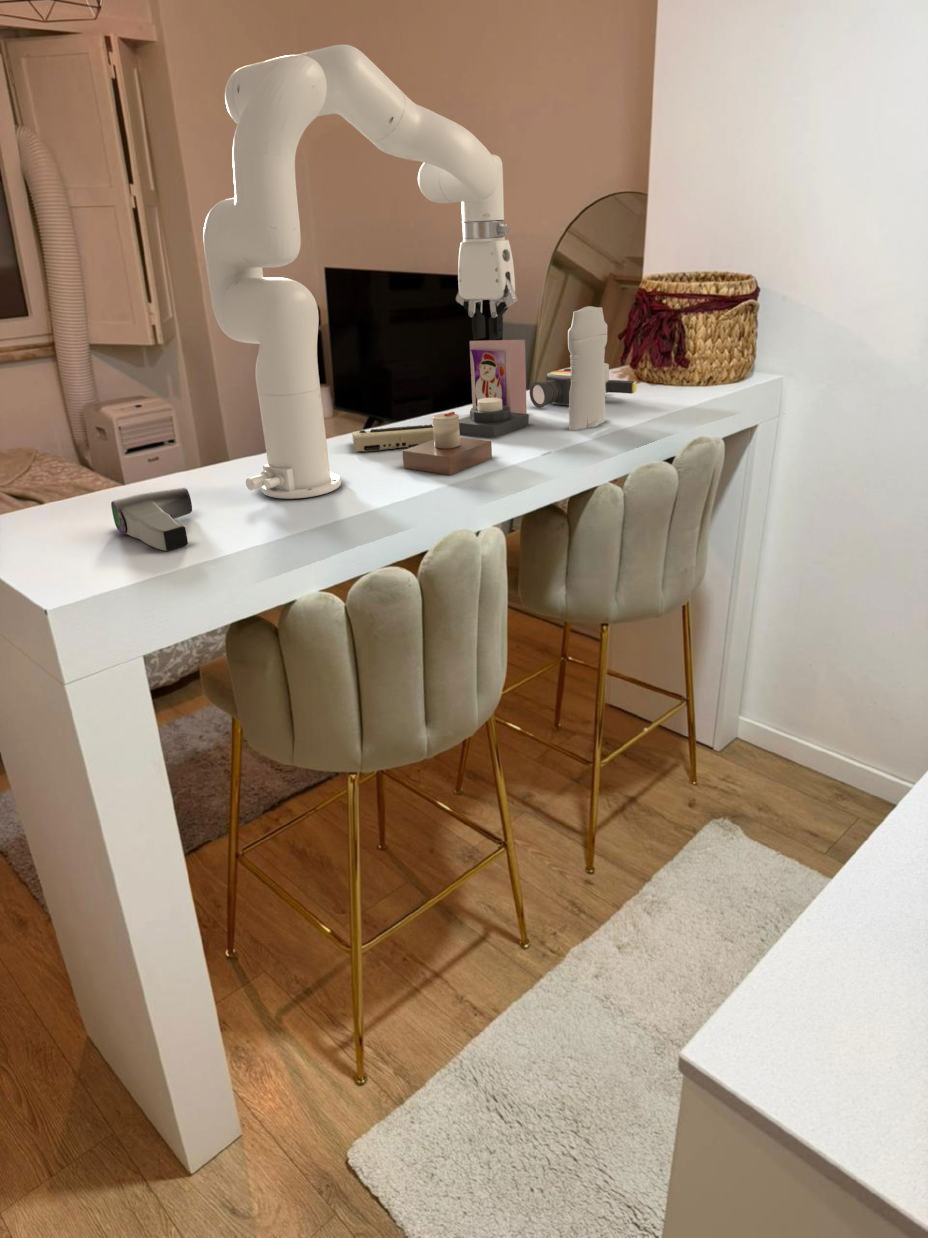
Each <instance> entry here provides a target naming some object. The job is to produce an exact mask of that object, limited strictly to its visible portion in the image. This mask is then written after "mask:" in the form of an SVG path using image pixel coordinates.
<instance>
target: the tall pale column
mask: <svg viewBox="0 0 928 1238" xmlns="http://www.w3.org/2000/svg"><path fill="white" fill-rule="evenodd" d="M603 310H604V309H603V307H597V306H593V305H590V306H589V305H588V306H584V307H582V308H580V309H577V310H575V311H573V312H572V313H573V314H572V320H571V326H570V328H568V330H567V348H568V351H569V354H570V355H569V359H570V360H569V362H570V366H569V368H570V367H571V380H570V381H571V386H570V391H569V405H568V429H569V431H577V430H582V429H583V430H584V429H586V428H595V427H597V426H598V425H600V424H603V423H605V422H606V394H605V381H604V363H605V361H606V360H605V356H606V354H605V353H606V346H607V343H608V324H607V323H606V321H605V318H604V312H603Z"/></svg>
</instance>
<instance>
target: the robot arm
mask: <svg viewBox="0 0 928 1238" xmlns="http://www.w3.org/2000/svg"><path fill="white" fill-rule="evenodd" d="M224 102H225V105H226V109H227V112H228V114H229V116H230V117H231V119H232V121H234V123H235V124H236V128H235V131H234V135H233V142H232V152H231V153H232V154H231V156H232V157H231V158H232V171H233V185H234V197H230V198H225V199H222V200H220V201H218V202H217V203H216V204H215V205H213V206H212V208H211V209H210V210H209V212H208V213H207V216H206V217H205V222H204V225H203V226H204V227H203V234H202V235H203V236H202V239H203V251H204V258H205V259H204V260H205V265H206V273H207V280H208V287H209V294H210V301H211V308H212V311H213V316H214V318H215V321H216V323H217V325H218V327H219V329H220V330H221V331H222V333H224V334H225V335H226V336H227V337H228V338H230V339H231V340H233V341H236V342H240V343H245V344H255V345H259V346H258V353H257V357H256V361H255V373H254V375H255V385H256V392H257V397H258V402H259V403H258V404H259V410H260V418H261V425H262V431H263V439H264V447H265V452H266V460H267V464H264V465H262V468H263V471H261V472H260V473H259V475H258V474H257V475H254V476H250V477H247V478H246V479H245V486H246V488H247V489H248V490H249V491H253V490H257V489H259V488H261V492H262V493H263V494H264V495H266V496H268V497H270V498H274V499H275V498H276V499H290V500H291V499H293V500H294V499H305V498H306V499H307V498H312V497H313V498H314V497H317V496H322V495H325V494H329V493H331V492H333V491H335V490H337V489H338V488H340V487H341V485H342V479H341V476H340V475H339V474H338V473H335V472H333V471H331V468H330V460H329V452H328V444H327V435H326V433H327V432H326V426H325V418H324V408H323V407H324V406H323V399H322V392H321V391H322V390H321V383H320V375H319V374H320V373H319V363H318V335H319V323H320V322H319V321H320V316H319V308H318V304H317V301H316V299H315V297H314V295H313V294H312V291H310V290H309V288H308V287H306V285H304V284H302V283H301V282H299V281H297V280H294V279H291V278H286V277H275V276H274V277H264V272H263V269H264V268H267V269H268V268H279V267H284V266H287V265H289V264H292V263H294V261H295V260H296V259H297V258H298V256H299V253H300V251H301V246H302V236H301V234H302V233H301V224H300V213H299V202H298V192H297V181H296V154H297V150H298V149H297V148H298V146H299V142H300V140H301V138H302V137H303V134H304V132H305V131H306V129H307V128H308V126H309V125H310V124H311V123H312V122H313V121H314V120H315V119H316V118H317V117H322V116H329V115H338V116H340V117H342V118H343V119H344V120H345V121H346V122H347V123H348V124H350V125H351V126H352V127H354V129H356V131H358V132H359V133H360V134H361V135H363V136H364V137H365V139H367V140H368V141H370V143H371V144H373V145H374V146H375V147H376V148H377V149H378V150H380V151H381V152H383V153H384V154H387V155H390V156H393V157H396V158H399V159H403V160H408V161H414V162H421V163H422V165H421V166H420V168H419V170H418V174H417V184H418V187H419V191H420V192H421V193H422V195H423V197H425V198H426V199H427V200H429V201H431V202H433V203H436V204H456V203H460V205H461V228H462V229H461V230H462V241H461V242H460V245H459V252H458V264H457V265H458V266H457V281H458V283H457V285H458V291H457V294H456V296H455V301H456V303H458V304H459V305H461V306H463V308H464V309H465V310H466V311H467V314H468V317H470V318H471V333H472V339H473V340H474V341H478V340H480V339H481V340H482V339H485V338H486V317H485V315H482V314H483V301H487V300H488V301H489V310H490V316H491V317H488V338H489V339H488V340H489V341H490V340H502V337H503V317H504V316H505V314H506V312H507V310H508V309H509V308H510V307H511V306H512V305H514V304H516V303H517V302H518V297H517V295H516V278H515V277H516V276H515V265H514V259H513V253H512V248H511V244H510V241H509V239H506V238H505V236H506V234H508V233H509V232H510V226H509V225H510V224H505V223H506V222H505V209H504V208H505V207H504V206H505V203H504V200H505V199H504V169H503V168H504V167H503V161H502V158H501V157H500V156H499V155H497V154H492V153H491V152H490V151H489V150H488V149H487V147H485V145H484V144H483V143H482V142H481V141H480V140H479V138H477V137H476V136H475V134H473V133H472V132H471V131H470V130H468V129H467V128H465V127H464V126H463V125H461V124H459V123H457V122H456V121H454V120H451V119H449V118H447V117H445V116H443V115H441V114H439V113H437V112H435V111H433V110H431V109H429V108H426V107H424V106H422V105H419V104H417V103H415V102H414V101H413V100H412V99H410V98H409V97H408V96H407V95H406V94H405V93H404V92H403V91H402V90H401V89H400V88H399V86H397V85H396V84H395V83H394V82H393V81H392V80H391V79H390V77H388V76H387V75H386V74H385V73H384V72H383V70H381V69H380V68H379V67H378V66H377V65H376V64H375V63H374V62H373V61H372V60H371V59H370V58H369V57H368V56H367V55H366V54H365V53H364V52H362V51H361V50H359V49H358V48H357V47H355V46H353V45H350V44H335V45H330V46H326V47H322V48H318V49H314V50H309V51H306V52H302V53H299V54H289V55H283V56H278V57H274V58H271V59H267V60H265V61H260V62H256V63H253V64H249V65H244V66H242V67H239V68H237V69H236V70H234V71H233V72H232V74H231V75H230V76H229V78H228V79H227V82H226V86H225V90H224ZM504 298H505V299H504Z"/></svg>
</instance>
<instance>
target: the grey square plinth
mask: <svg viewBox="0 0 928 1238" xmlns="http://www.w3.org/2000/svg"><path fill="white" fill-rule="evenodd" d="M529 420H530V417H529V414H528V413H527V414H522V413H512V412H510V407H508V406H506V405H502V410H500V411H493V412H482V411H478V406H476V407H473V406H472V407H471V408H470V409H469V415H468V416H465V417H462V418H459V431H460V435H465V436H474V437H480V438H481V437H482V438H491V439H496V438H498V437H500V436H501V437H502V436H504V435H506V434H509V433H512V432H514V431H516V430H520V429H522V428H525V427H527V426H529V425H530V421H529Z"/></svg>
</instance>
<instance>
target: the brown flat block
mask: <svg viewBox="0 0 928 1238" xmlns="http://www.w3.org/2000/svg"><path fill="white" fill-rule="evenodd" d="M492 445H493V444H492V440H486V439H485V440H484V439H477V438H469V437H461V436H460V446H458V447H455V448H447V449H443V448H436V447H435V446H434V440H431V441H429V442H426V443H423V444H420V445H417V446H414V447H411V448H406V449H403V450H402V462H403V463H402V464H403V468H404V469H409V470H415V471H422V472H429V473H434V474H439V475H446V476H447V475H448V476H452V475H454V474H456V473H458V472H462V471H464V470H466V469H468V468H472V467H473V466H477V465H479V464H481V463H483V462H486V461H488V460H490V459H492V458H493V448H492Z"/></svg>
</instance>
